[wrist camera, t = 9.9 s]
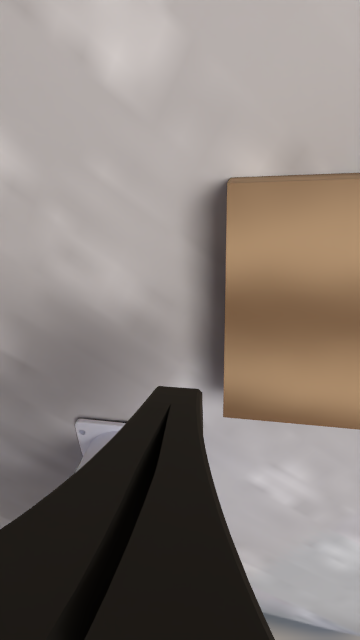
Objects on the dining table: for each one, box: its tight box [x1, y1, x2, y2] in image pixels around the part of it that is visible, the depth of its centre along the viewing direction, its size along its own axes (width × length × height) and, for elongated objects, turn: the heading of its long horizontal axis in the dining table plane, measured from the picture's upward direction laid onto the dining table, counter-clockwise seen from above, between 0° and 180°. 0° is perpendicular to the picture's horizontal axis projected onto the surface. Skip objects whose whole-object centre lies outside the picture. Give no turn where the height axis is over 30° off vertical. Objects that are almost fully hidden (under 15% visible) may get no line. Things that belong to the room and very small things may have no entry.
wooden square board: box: [223, 173, 360, 429], centre depth 16 cm, size 12×12×3 cm
